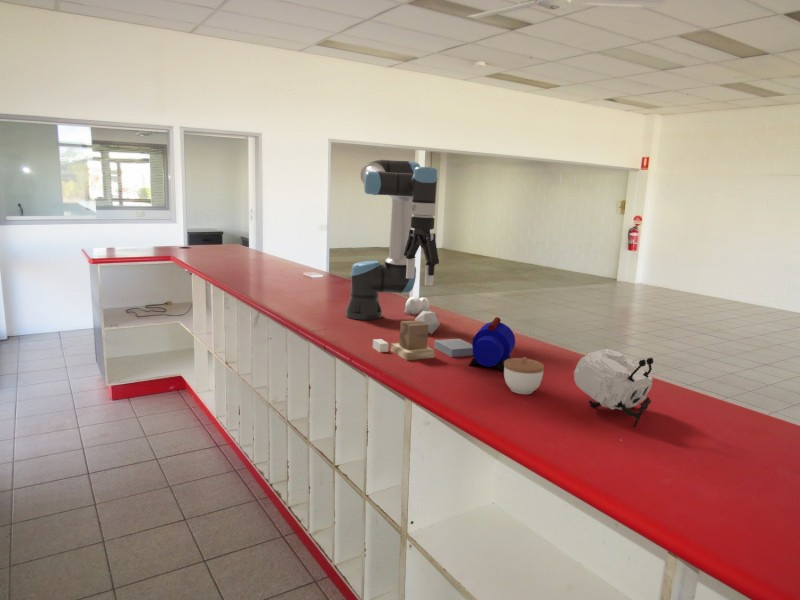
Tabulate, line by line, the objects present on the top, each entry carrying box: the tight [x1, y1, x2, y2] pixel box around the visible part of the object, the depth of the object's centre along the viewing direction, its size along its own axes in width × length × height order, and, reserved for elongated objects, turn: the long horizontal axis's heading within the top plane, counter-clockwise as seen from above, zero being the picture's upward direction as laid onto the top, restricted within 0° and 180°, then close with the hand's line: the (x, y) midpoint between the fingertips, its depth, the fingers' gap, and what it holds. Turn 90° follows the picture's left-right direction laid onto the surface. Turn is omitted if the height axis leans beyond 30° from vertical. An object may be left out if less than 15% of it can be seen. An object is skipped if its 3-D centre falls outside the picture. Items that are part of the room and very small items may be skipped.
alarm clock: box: [467, 316, 516, 372], centre depth 175 cm, size 12×12×15 cm
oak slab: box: [390, 342, 436, 361], centre depth 185 cm, size 12×10×3 cm
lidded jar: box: [503, 356, 545, 395], centre depth 154 cm, size 11×11×9 cm
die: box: [414, 310, 441, 335], centre depth 215 cm, size 8×9×10 cm
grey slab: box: [433, 338, 473, 358], centre depth 191 cm, size 12×10×3 cm
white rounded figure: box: [403, 296, 432, 315], centre depth 248 cm, size 9×11×12 cm
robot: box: [573, 348, 655, 429], centre depth 141 cm, size 17×20×18 cm
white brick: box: [372, 338, 389, 353], centre depth 189 cm, size 6×3×3 cm, turn 26°
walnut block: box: [398, 320, 429, 350], centre depth 184 cm, size 6×7×8 cm
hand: (419, 281), depth 185 cm, fingers open, 13 cm apart
